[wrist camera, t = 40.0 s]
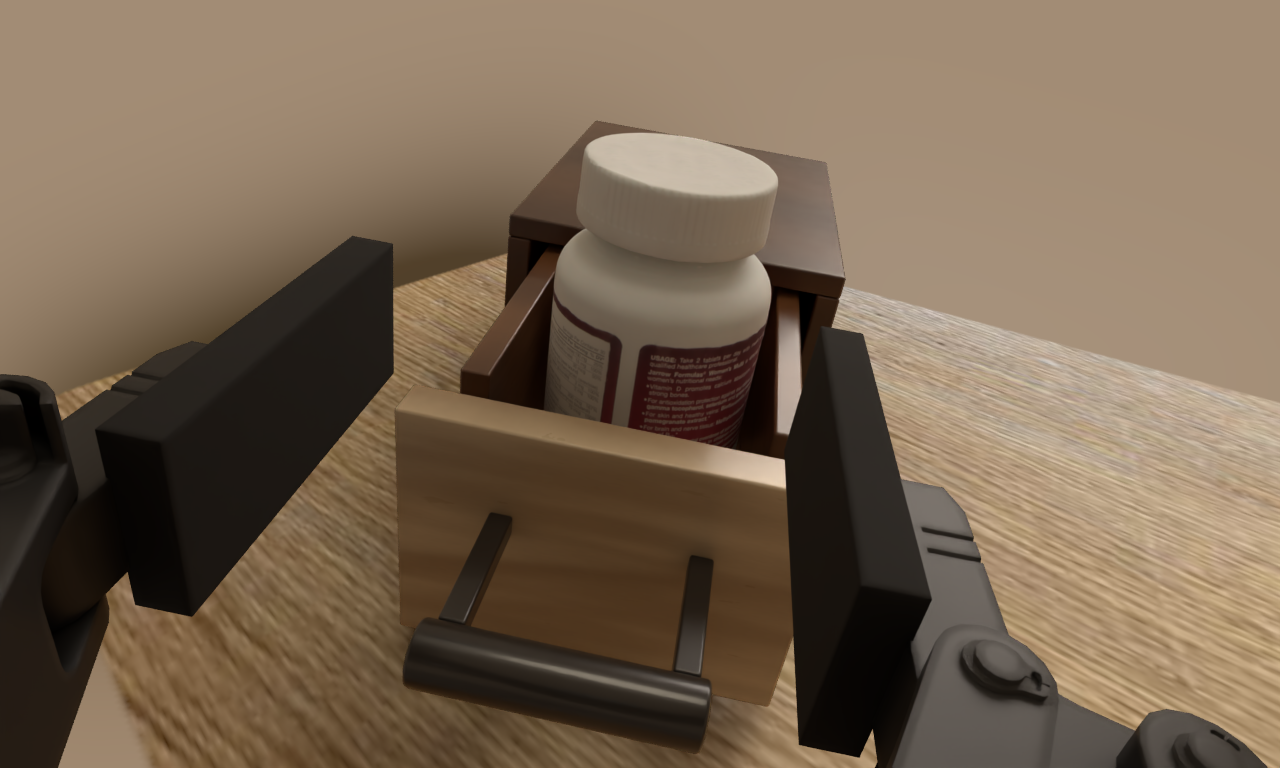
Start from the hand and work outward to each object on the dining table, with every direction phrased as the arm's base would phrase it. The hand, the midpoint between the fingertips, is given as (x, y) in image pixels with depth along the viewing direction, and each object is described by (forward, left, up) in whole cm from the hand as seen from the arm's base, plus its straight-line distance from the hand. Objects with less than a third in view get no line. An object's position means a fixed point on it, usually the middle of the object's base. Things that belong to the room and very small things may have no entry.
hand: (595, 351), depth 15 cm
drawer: (0, +6, -11) cm, 12 cm away
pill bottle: (+1, +8, -10) cm, 13 cm away
